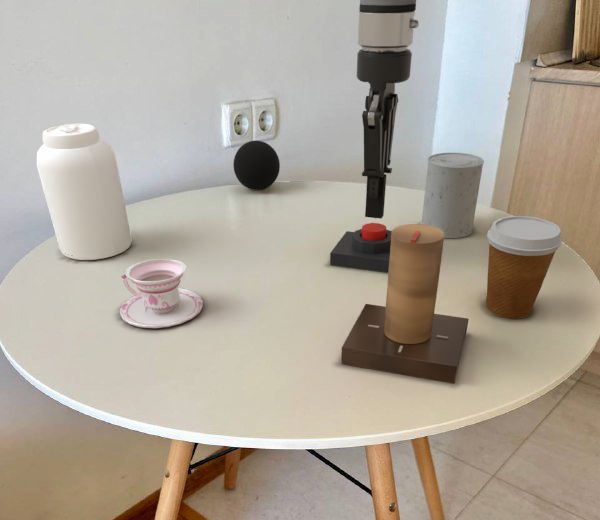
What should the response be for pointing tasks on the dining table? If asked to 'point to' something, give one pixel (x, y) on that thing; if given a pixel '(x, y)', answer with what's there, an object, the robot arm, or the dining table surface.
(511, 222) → the disposable coffee cup
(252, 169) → the decorative ball
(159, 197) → the dining table surface
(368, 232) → the red button
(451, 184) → the gray concrete cylinder
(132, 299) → the teacup
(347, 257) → the button base
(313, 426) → the dining table surface
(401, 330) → the wooden cylinder
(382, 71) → the robot arm
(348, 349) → the dark brown wooden base
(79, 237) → the white lidded jar
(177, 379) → the dining table surface
